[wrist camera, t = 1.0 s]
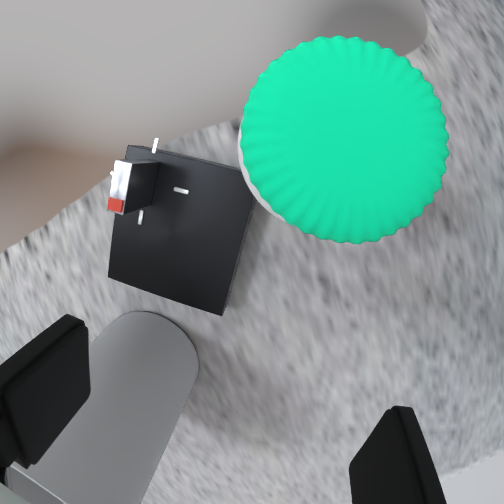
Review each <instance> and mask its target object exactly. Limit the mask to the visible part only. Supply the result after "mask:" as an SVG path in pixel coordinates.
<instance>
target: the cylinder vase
mask: <svg viewBox="0 0 504 504" xmlns="http://www.w3.org/2000/svg"><path fill="white" fill-rule="evenodd" d="M89 368H90V383H91V393H90V396H89V398H88V399H87V401H86V402H85V403H84V404H83V406H82V407H81V408H80V409H79V411H78V412H77V413H76V414H75V416H74V417H73V418H72V420H71V421H70V422H69V423H68V425H67V426H66V427H65V428H64V430H63V431H62V432H61V433H60V435H59V436H58V437H57V439H56V440H55V441H54V442H53V444H52V445H51V446H50V448H49V449H48V450H47V451H46V453H45V454H44V455H43V457H42V458H41V459H40V460H39V462H38V463H37V464H35V465H32V464H31V465H30V466H29V468H28V469H27V470H26V469H25V468H23V467H22V466H21V465H19V464H18V463H16V462H15V461H14V462H13V463H12V464H11V466H10V473H11V480H12V487H13V492H14V493H16V494H17V495H19V496H20V497H22V498H23V499H25V500H26V501H28V502H29V503H31V504H141V502H142V499H143V497H144V495H145V493H146V490H147V488H148V486H149V484H150V481H151V479H152V477H153V475H154V473H155V470H156V468H157V466H158V464H159V461H160V459H161V457H162V455H163V452H164V450H165V448H166V446H167V444H168V441H169V439H170V437H171V435H172V432H173V430H174V428H175V426H176V423H177V421H178V419H179V417H180V414H181V412H182V410H183V408H184V406H185V403H186V401H187V399H188V397H189V394H190V392H191V390H192V388H193V385H194V383H195V381H196V379H197V376H198V371H199V362H198V357H197V353H196V351H195V348H194V346H193V344H192V343H191V341H190V340H189V338H188V337H187V336H186V334H185V333H184V332H183V331H182V330H181V329H180V328H179V327H177V326H176V325H175V324H174V323H172V322H171V321H169V320H167V319H166V318H164V317H161V316H159V315H156V314H153V313H149V312H142V311H136V312H129V313H126V314H123V315H121V316H120V317H118V318H117V319H116V320H114V321H113V322H112V323H111V324H110V325H109V326H108V327H107V328H106V329H105V330H104V331H103V332H102V333H101V334H100V335H99V336H98V337H97V338H96V339H95V340H94V341H93V342H92V343H91V344H90V345H89Z"/></svg>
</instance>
